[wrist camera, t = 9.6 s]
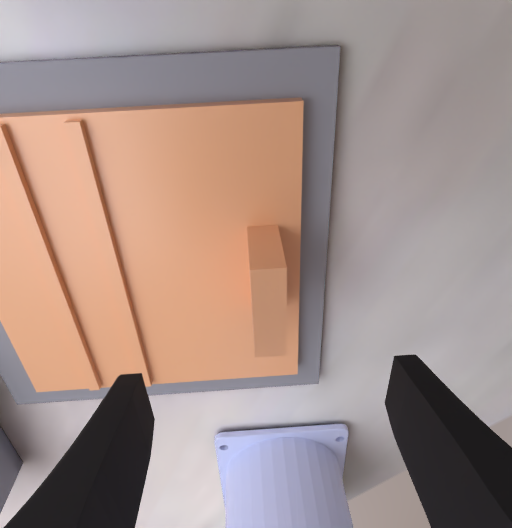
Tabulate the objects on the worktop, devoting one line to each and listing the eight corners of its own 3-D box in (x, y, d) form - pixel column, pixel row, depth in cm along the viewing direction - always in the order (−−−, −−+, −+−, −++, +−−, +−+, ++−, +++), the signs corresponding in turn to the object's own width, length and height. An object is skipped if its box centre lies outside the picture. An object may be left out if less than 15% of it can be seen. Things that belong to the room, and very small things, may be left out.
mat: (316, 376, 22) (318, 383, 22) (21, 396, 22) (17, 404, 21) (337, 45, 13) (340, 46, 13) (-157, 70, 13) (-169, 72, 13)
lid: (296, 365, 21) (307, 426, 18) (41, 382, 21) (8, 448, 18) (301, 97, 14) (320, 124, 11) (-88, 118, 13) (-180, 152, 10)
